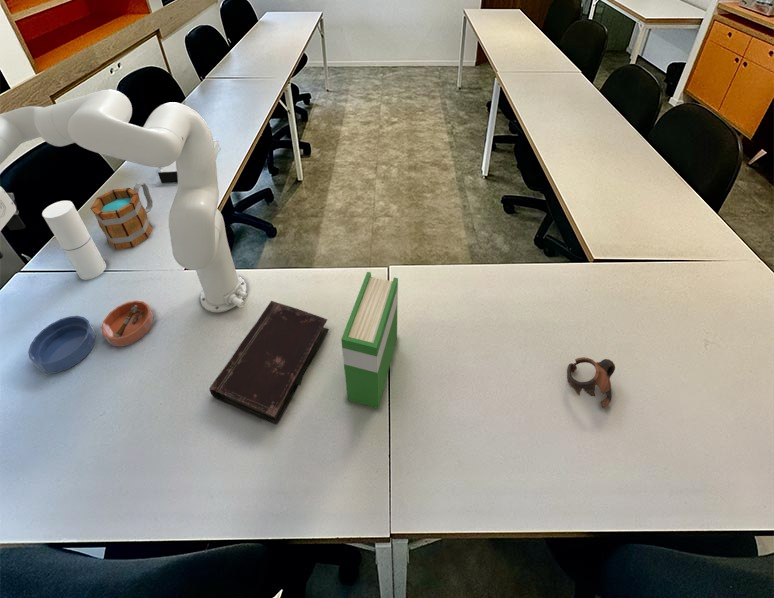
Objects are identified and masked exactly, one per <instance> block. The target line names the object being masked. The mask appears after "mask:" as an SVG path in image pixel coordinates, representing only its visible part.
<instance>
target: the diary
mask: <svg viewBox="0 0 774 598" xmlns="http://www.w3.org/2000/svg"><path fill="white" fill-rule="evenodd" d="M327 322H328V318H325V317H322V316H320V315H316V314H315V313H314V314H313V313H311V312H308V311H305V310H302V309H299V308H297V307H293V306H290V305H286V304H283V303H279V302H277V301H274V300H270V302H269V303H268V305H267V306H266V308H265V309H264V311H262V313H261V315H260V316H259V318H258V320H257V321H256V322H255V324H254V325H253V326H252V328H251V329H250V330H249V332H248V333H247V334H246V336H245V338H244V339H243V340H242V341H241V343H240V344H239V345H238V347H237V349H236V350H235V351H234V353H233V355H232V356H231V358H230V359H229V361H228V362H227V363H226V365H225V366H224V367H223V369H222V370H221V371H220V373H219V375H218V376H217V377H216V378H215V380H214V381H213V382H212V383H211V385H210V387H209V393H210V395H211V396H212V398H213V399H214V400H218V401H220V402H222V403H225V404H226V405H229V406H231V407H233V408H236V409H238V410H240V411H242V412H245V413H247V414H249V415H251V416H254V417H256V418H258V419H260V420H262V421H265V422H268V423H271V424H273V425H278V424H279V422H280V421H281V420H282V417H283V415H284V413H285V412H286V410H287V408H288V406H289V404H290V403H291V401H292V399H293V398H294V395H295V394H296V391H297V389H298V388H299V386H301V384H302V381H303V378H304V376H305V374H306V372H307V371H308V369H309V367H310V366H311V364H312V362H313V360H314V359H315V358H316V355H317V353H318V351H319V350H320V348H321V346H322V344H323V342H324V340H325V338H326V336H327V334H328V332H329V331H330V329H329V328H327V327H325V325H326V323H327Z"/></svg>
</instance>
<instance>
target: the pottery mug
mask: <svg viewBox="0 0 774 598" xmlns="http://www.w3.org/2000/svg"><path fill="white" fill-rule="evenodd" d="M574 361H575V362H574V363H569V364H568V365H567V369H566V380H567V383H568V385H569V387H570V388H572V389H573V390H574V391H575V392H576V394H577V395H578V396H580V395H581V392H582V391H584V392H585V394H586V395H587V394H588V396H590V397H596V386H597V387H598V389H599V392H600V393H601V394H603V395H606V397H605V398H604V399H603V400H602V401H600V405H601V407H602V409H606V408H607V407H608V406H609V405H610V404H611V402H612V398H613V395H612V383H611V377H612V376H613V374H614V373H615V370H616V366H615V365H616V364H615V363H614V361H612V360H611V359H608V358H604V359H602V360H601V361H599V362H596V361H595V360H594V359H591V358H589V357H577V358H575V359H574ZM584 363H587V364H590V365H592V366H593V367H594V368H595V369H594V370H595V374H594V376H593V378H591V379H590V380H587V381H579V380H576V379H575V378H574V377H573V375H572V373H575V372H576V371H577V366H578V365H579V364H584Z"/></svg>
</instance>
